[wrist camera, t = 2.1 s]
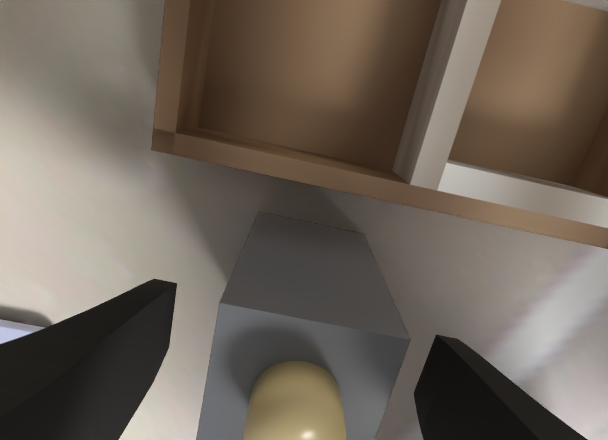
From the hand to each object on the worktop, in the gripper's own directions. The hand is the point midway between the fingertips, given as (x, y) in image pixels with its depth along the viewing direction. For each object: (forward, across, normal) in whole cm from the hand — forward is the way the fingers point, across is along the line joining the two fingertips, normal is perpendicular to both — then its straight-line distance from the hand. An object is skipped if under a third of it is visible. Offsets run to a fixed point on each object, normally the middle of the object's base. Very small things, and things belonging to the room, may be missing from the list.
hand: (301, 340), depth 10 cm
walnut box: (+4, -2, -8) cm, 9 cm away
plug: (+4, 0, 0) cm, 5 cm away
